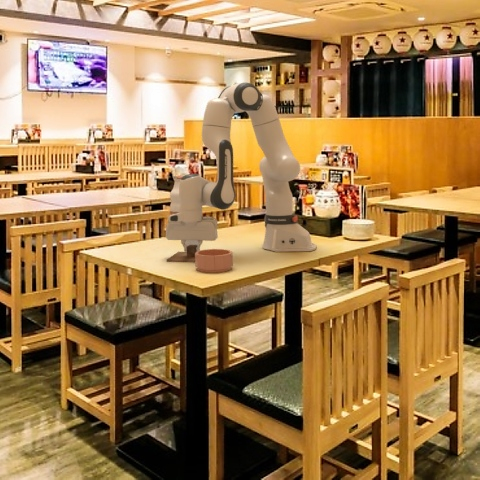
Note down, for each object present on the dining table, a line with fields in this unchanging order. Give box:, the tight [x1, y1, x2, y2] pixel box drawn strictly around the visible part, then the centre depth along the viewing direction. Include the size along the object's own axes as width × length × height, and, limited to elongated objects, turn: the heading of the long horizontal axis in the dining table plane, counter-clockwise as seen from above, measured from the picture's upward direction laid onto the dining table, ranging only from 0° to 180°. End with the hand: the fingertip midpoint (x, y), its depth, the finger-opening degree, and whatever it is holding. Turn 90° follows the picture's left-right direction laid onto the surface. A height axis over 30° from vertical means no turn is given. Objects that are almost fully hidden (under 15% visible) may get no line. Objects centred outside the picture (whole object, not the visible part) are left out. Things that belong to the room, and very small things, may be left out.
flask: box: [185, 240, 199, 247], centre depth 280 cm, size 7×7×10 cm
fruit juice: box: [169, 175, 184, 216], centre depth 305 cm, size 9×9×28 cm
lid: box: [166, 245, 198, 264], centre depth 255 cm, size 16×16×5 cm
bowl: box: [194, 248, 234, 274], centre depth 235 cm, size 13×13×6 cm
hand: (192, 251), depth 255 cm, fingers closed on lid, 3 cm apart
